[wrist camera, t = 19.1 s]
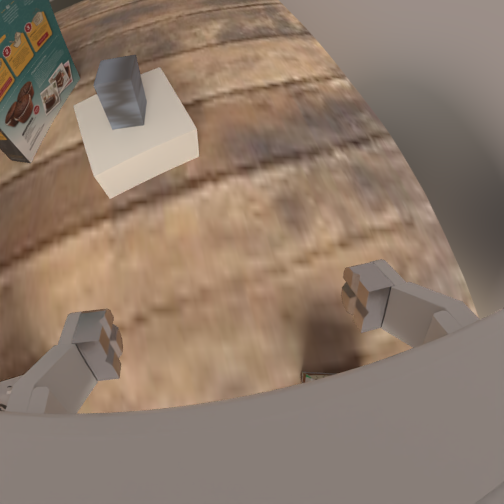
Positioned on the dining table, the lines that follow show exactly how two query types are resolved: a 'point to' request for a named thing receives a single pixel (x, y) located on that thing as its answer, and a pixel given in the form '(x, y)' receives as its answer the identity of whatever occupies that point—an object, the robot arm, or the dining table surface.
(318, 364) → the dining table surface
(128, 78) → the slate block
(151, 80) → the painted box
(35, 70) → the cake mix box
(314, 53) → the dining table surface
